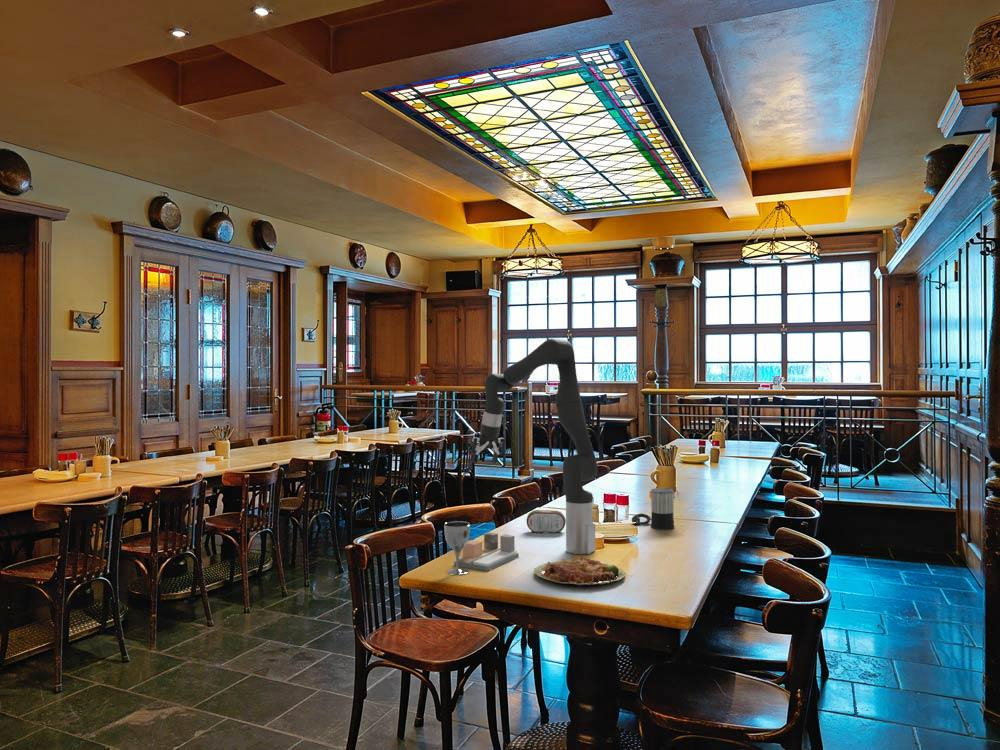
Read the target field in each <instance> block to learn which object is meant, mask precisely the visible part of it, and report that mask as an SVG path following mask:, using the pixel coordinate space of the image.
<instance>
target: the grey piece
mask: <svg viewBox="0 0 1000 750" xmlns="http://www.w3.org/2000/svg"><path fill="white" fill-rule="evenodd" d="M483 543H484V545H483V547H482V556H484V555H486V554H488V553H491V552H493V551H495V550H498V549H500V548H499V533H496V532H485V533H483ZM480 557H481V556H480ZM477 558H479V557H477ZM477 558H475V559H477ZM472 560H474V558H467V557H463V555H461V556H459V562H462V563H468V564H470V561H472Z"/></svg>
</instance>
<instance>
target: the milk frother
mask: <svg viewBox="0 0 1000 750" xmlns="http://www.w3.org/2000/svg"><path fill="white" fill-rule="evenodd" d="M650 492H651V494H650V496H651V497H650V498H651V499H650V501H651V517H650V516H649V515H648V514H645V513H638V514H635V515H633V516H632V517H631V522H632V523H633V522H636V523H637V524H636V525H638V526H645V525H648V524H649V523H650V522H651V523H650V527H651V528H653V529H658V530H672V529H674V528H675V522H674V492H675V490H674V489H671V488H664V487H663V488H662V487H658V488H657V487H655V488H651V489H650ZM641 518H645V519H646V521H643V522H642V521H641Z"/></svg>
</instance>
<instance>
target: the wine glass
mask: <svg viewBox="0 0 1000 750" xmlns="http://www.w3.org/2000/svg"><path fill="white" fill-rule="evenodd" d="M443 525H444V526H443V527H444V536H445V541H446V543H447V545H448V546H449V547H450V548H451V550H452V551H453V552H454V554H455V555H454V556H455V561H456V566H455V568H452V569H449V570H446V572H447V573H448V574H453V575H452V576H454V575H459V576H465V575H468V574H469V573H470V571H469V569H465V568H460V566H459V558H460V554H461V552H462V551H463V548H464V546H465V545H466V544H467V542H468V541H469V540H470V533H471V524H470V522H469V521H462V520H460V521H459V520H453V521H448V522H445V523H444V524H443ZM447 573H446V574H447ZM467 573H468V574H467ZM448 574H447V575H448ZM464 574H465V575H464Z"/></svg>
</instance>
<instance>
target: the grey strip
mask: <svg viewBox="0 0 1000 750" xmlns="http://www.w3.org/2000/svg"><path fill="white" fill-rule="evenodd" d="M499 537H500V540H499V541H500V543H499V544H500V548H499V549H500V550H499V551H497V552H494V553H492V554H490V555H487V556H485V557H483V558H480V559H478V560H476V561H473V564H474V565H480V566H486V567H488V566H490V565H492V564H495V563H497V562H499V561H501V560H503V559H506V558H508V557H510V556H512V555H514V554H516V553H517V550H515V547H516V546H515V545H516V544H515V535H512V534H511V535H508V534H502V535H500V536H499Z"/></svg>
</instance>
